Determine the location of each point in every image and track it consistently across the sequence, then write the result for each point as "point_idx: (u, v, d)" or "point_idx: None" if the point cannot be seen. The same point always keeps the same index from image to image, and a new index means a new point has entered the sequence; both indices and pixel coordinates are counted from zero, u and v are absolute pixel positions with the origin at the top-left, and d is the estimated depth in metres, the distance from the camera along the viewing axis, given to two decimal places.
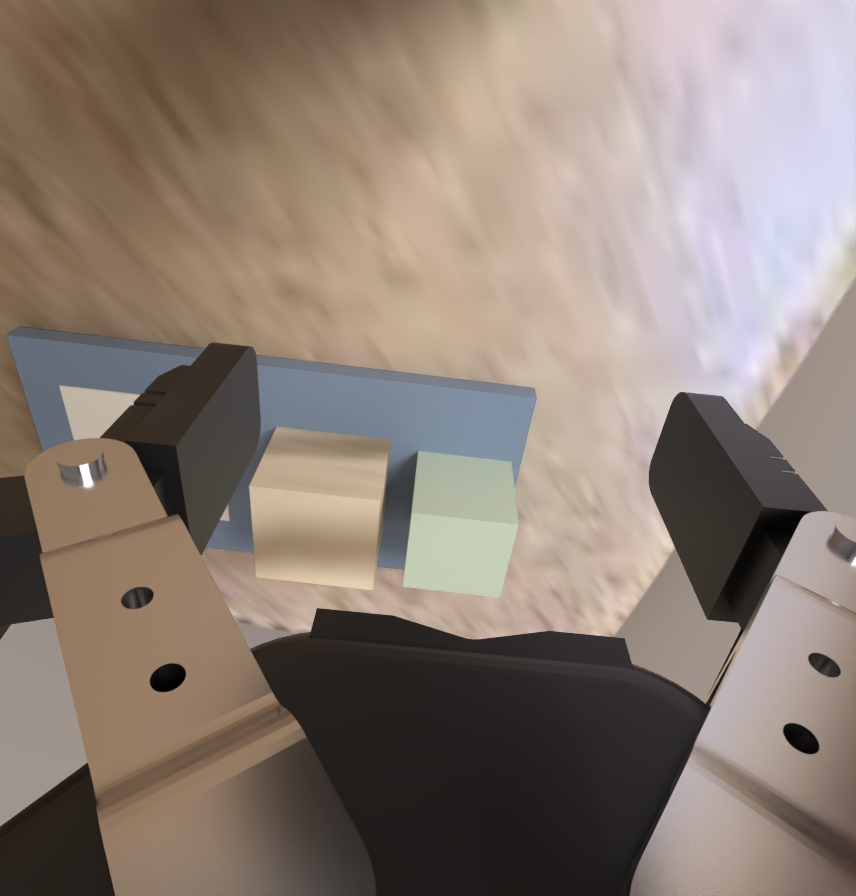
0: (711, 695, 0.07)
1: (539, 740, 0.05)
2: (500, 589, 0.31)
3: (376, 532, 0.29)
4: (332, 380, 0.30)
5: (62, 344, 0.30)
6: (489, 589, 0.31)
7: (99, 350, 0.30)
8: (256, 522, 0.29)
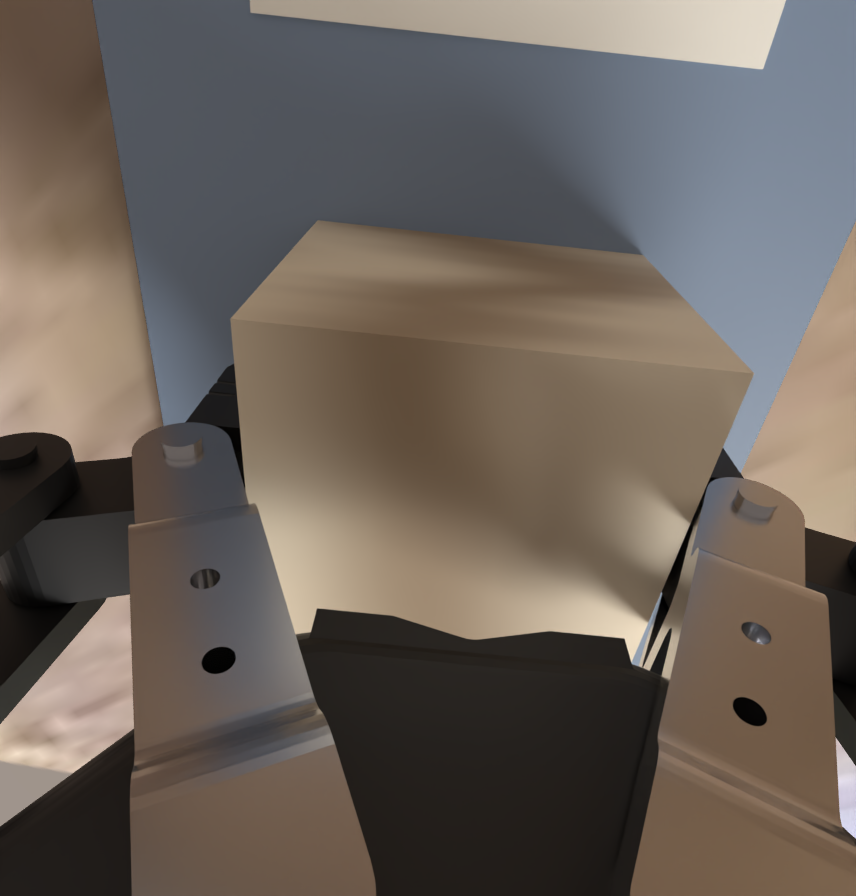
0: None
1: (539, 740, 0.05)
2: None
3: None
4: (751, 408, 0.13)
5: None
6: None
7: None
8: (559, 371, 0.07)
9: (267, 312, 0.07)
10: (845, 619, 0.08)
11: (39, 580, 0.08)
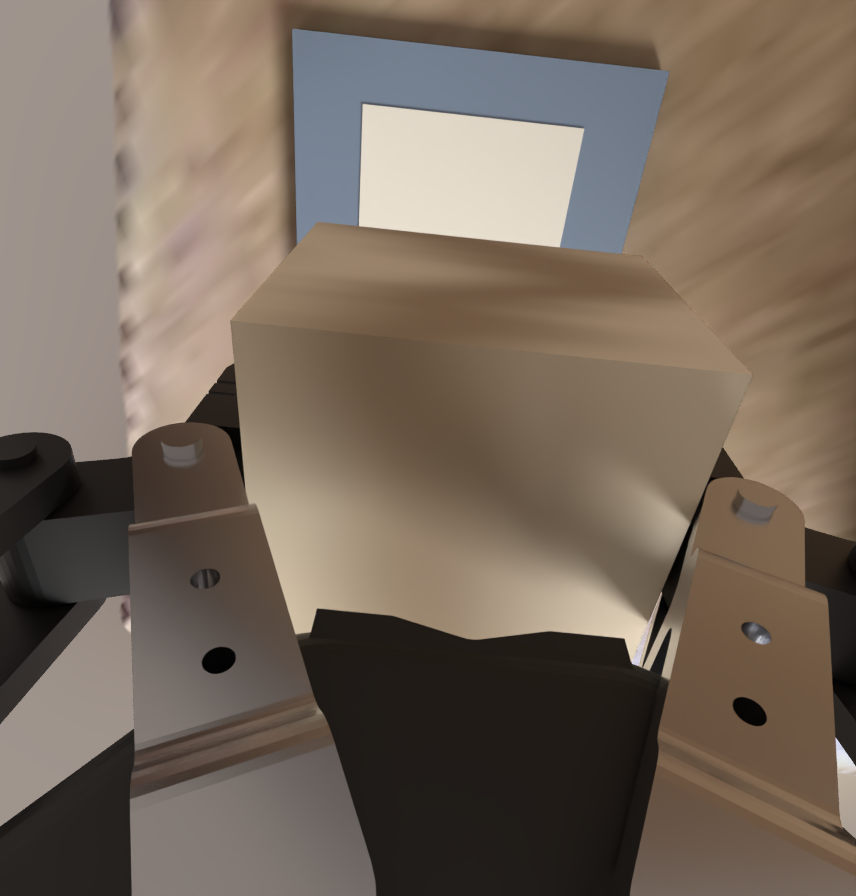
0: None
1: (539, 740, 0.05)
2: None
3: None
4: None
5: (642, 154, 0.22)
6: None
7: (627, 206, 0.23)
8: (558, 372, 0.07)
9: (267, 314, 0.07)
10: (845, 619, 0.08)
11: (39, 580, 0.08)
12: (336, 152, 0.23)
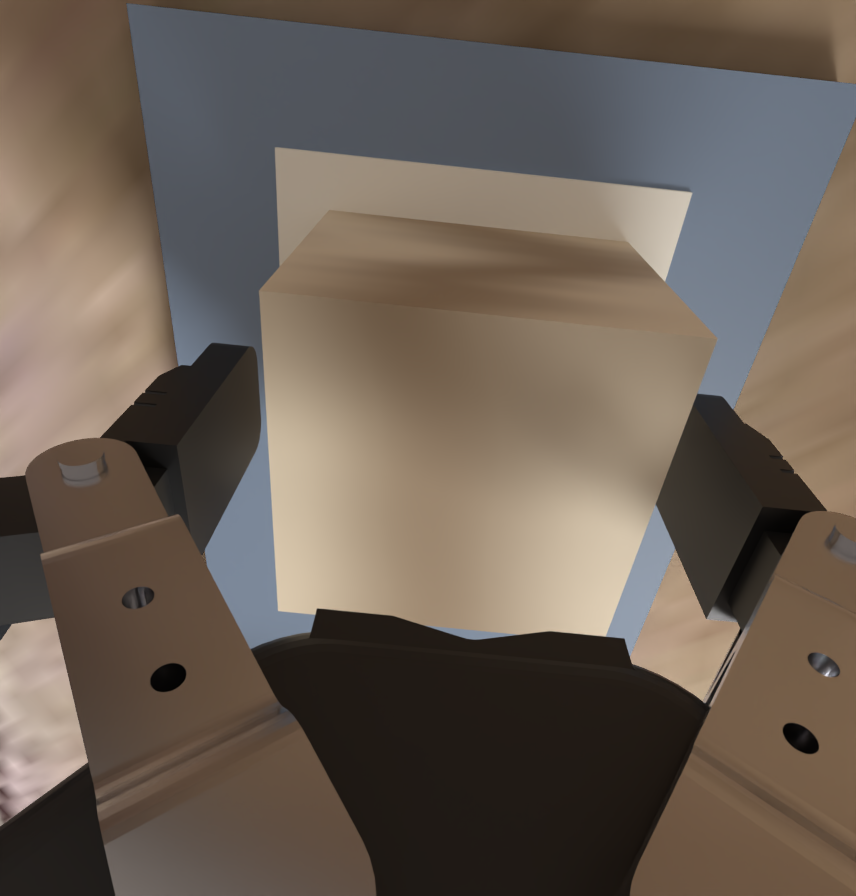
0: (710, 695, 0.07)
1: (539, 740, 0.05)
2: None
3: (497, 630, 0.11)
4: None
5: (795, 238, 0.12)
6: None
7: (758, 324, 0.13)
8: (547, 337, 0.08)
9: (290, 285, 0.08)
10: None
11: None
12: (234, 232, 0.12)
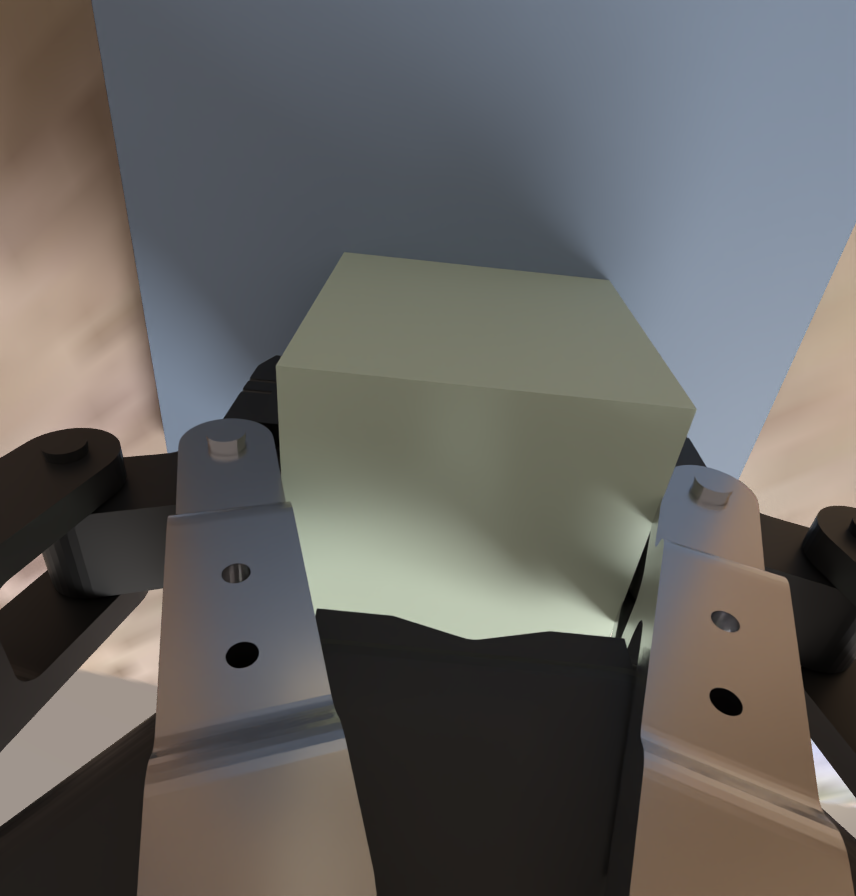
0: None
1: (539, 740, 0.05)
2: None
3: None
4: None
5: None
6: None
7: None
8: None
9: None
10: (797, 602, 0.08)
11: (83, 573, 0.08)
12: None
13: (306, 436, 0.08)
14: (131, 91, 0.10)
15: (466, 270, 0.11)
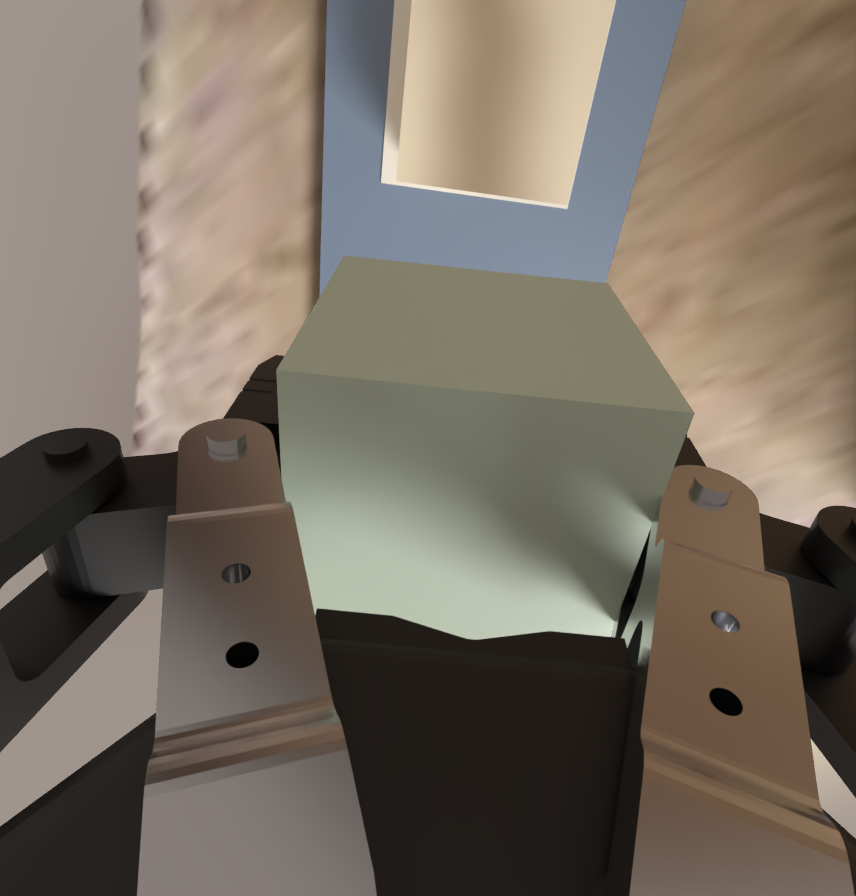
0: None
1: (539, 740, 0.05)
2: None
3: (511, 195, 0.21)
4: None
5: (679, 5, 0.22)
6: None
7: (661, 63, 0.23)
8: None
9: None
10: (797, 602, 0.08)
11: (83, 573, 0.08)
12: None
13: (306, 440, 0.08)
14: None
15: (466, 273, 0.11)
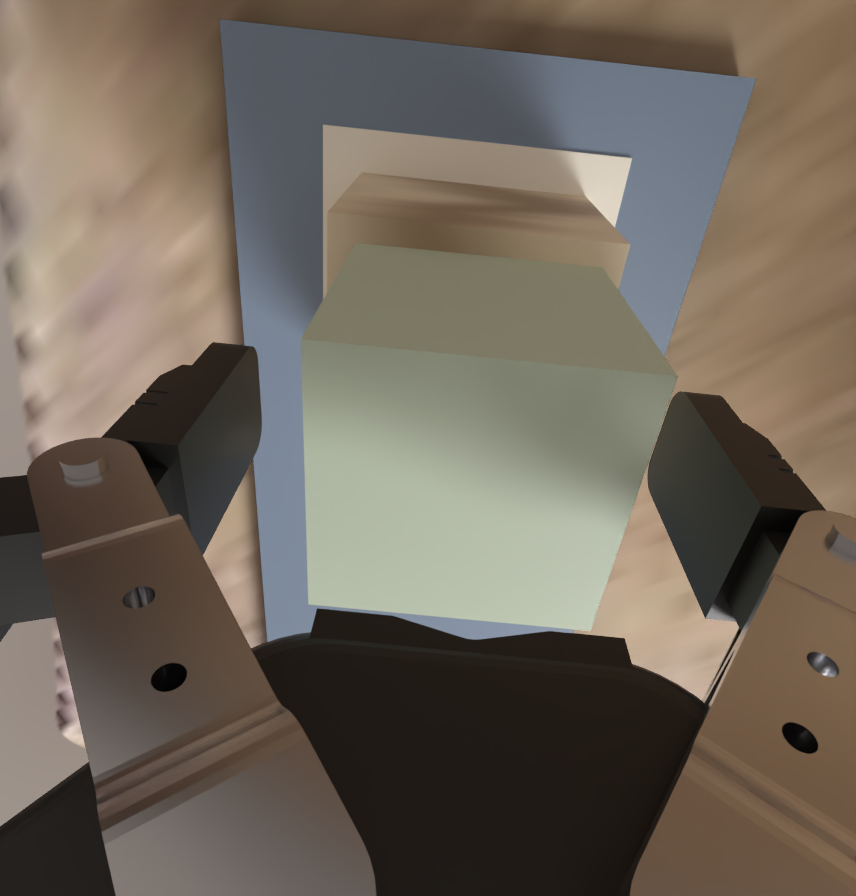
0: (710, 694, 0.07)
1: (539, 740, 0.05)
2: (341, 605, 0.11)
3: None
4: None
5: (711, 193, 0.16)
6: (335, 581, 0.10)
7: (687, 261, 0.17)
8: (517, 244, 0.12)
9: (346, 210, 0.12)
10: None
11: None
12: (289, 190, 0.16)
13: (327, 404, 0.08)
14: (272, 573, 0.24)
15: (469, 258, 0.12)
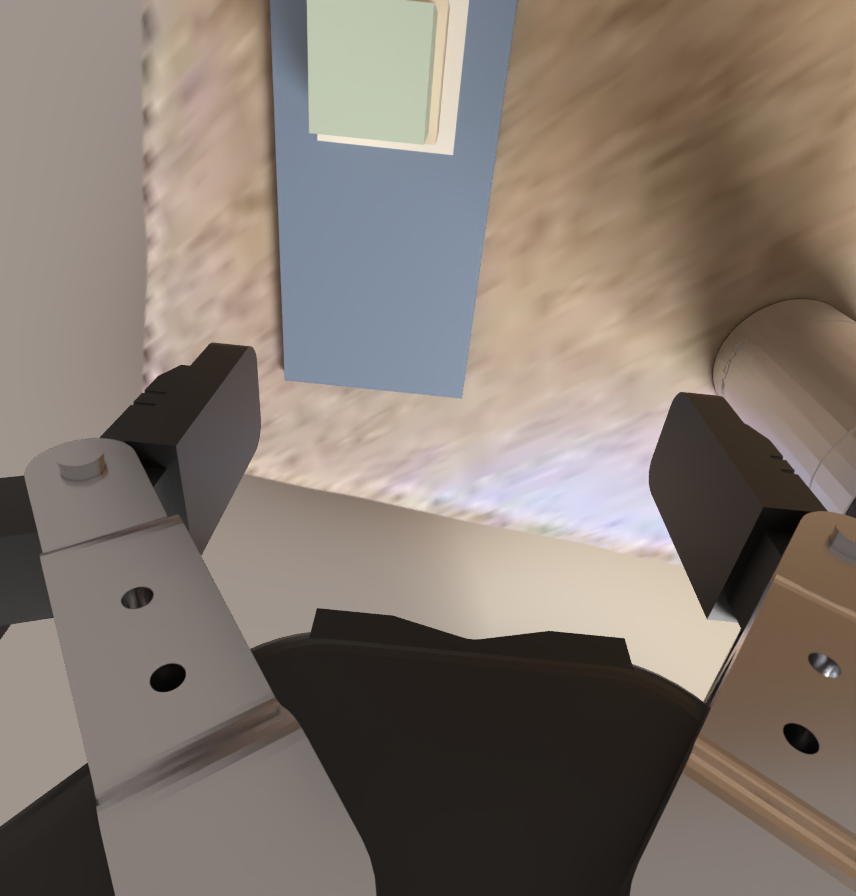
0: (711, 695, 0.07)
1: (539, 740, 0.05)
2: (322, 132, 0.26)
3: None
4: (475, 258, 0.39)
5: (513, 5, 0.32)
6: (320, 117, 0.26)
7: (506, 46, 0.33)
8: None
9: None
10: None
11: None
12: (299, 6, 0.32)
13: (315, 20, 0.24)
14: (286, 275, 0.40)
15: None
